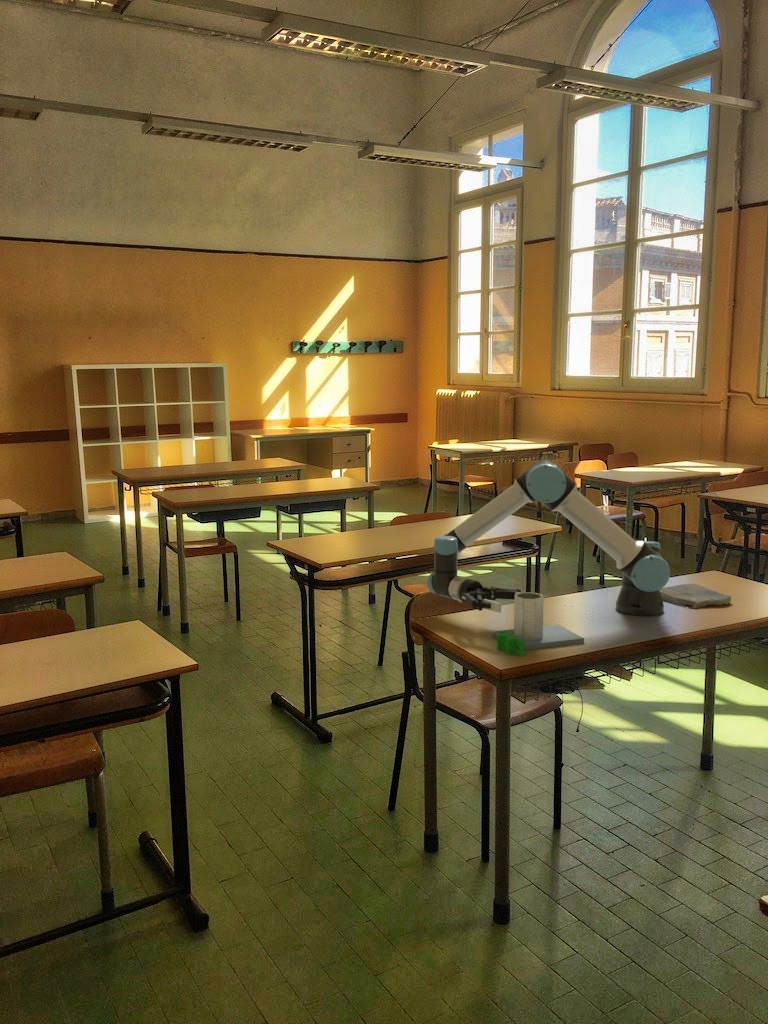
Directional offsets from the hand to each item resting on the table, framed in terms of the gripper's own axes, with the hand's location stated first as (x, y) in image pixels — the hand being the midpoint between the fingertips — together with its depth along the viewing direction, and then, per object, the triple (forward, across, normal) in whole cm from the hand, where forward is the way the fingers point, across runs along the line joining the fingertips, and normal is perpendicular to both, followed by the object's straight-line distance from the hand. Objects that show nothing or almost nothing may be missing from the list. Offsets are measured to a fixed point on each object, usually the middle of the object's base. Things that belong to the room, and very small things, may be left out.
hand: (516, 604), depth 253 cm
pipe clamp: (+7, +11, -11) cm, 17 cm away
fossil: (+10, -77, -11) cm, 79 cm away
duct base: (+6, -3, -10) cm, 12 cm away
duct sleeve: (+4, 0, -9) cm, 10 cm away
